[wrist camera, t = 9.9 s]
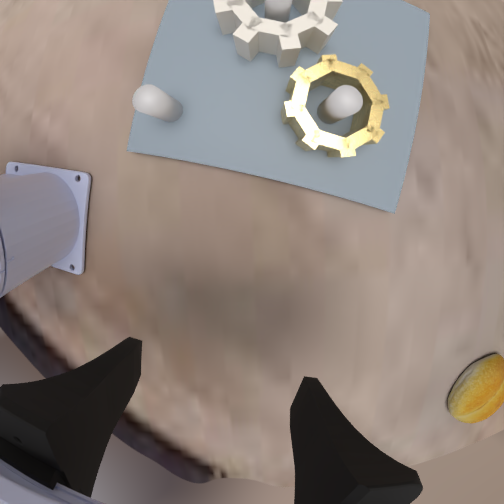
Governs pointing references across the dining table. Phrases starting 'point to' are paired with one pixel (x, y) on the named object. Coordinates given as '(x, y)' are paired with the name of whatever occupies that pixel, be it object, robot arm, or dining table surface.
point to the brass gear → (334, 76)
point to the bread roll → (478, 390)
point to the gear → (277, 28)
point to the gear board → (283, 98)
